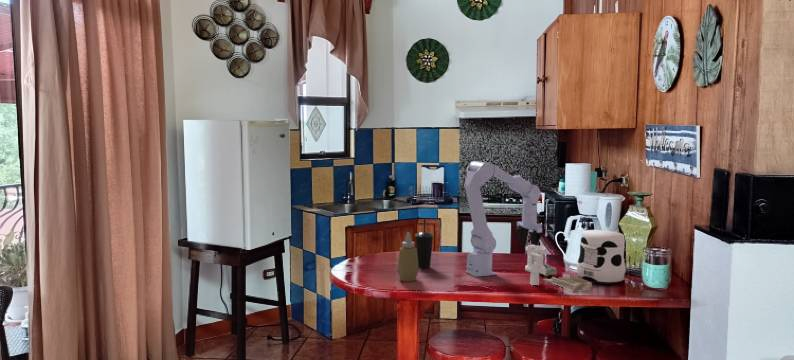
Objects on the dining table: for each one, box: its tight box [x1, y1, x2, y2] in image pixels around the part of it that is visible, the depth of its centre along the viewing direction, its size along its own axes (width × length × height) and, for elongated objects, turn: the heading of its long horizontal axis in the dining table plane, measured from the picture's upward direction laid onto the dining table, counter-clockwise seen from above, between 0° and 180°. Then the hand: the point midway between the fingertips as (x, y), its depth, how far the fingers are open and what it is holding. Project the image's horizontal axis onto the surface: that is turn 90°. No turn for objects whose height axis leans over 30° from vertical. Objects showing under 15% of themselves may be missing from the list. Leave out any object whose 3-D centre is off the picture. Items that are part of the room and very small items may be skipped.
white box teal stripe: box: [539, 263, 558, 279], centre depth 217 cm, size 5×7×4 cm
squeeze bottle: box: [397, 232, 420, 282], centre depth 209 cm, size 8×8×18 cm
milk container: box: [576, 229, 626, 285], centre depth 210 cm, size 17×17×18 cm
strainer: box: [524, 244, 547, 286], centre depth 205 cm, size 7×7×15 cm
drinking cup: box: [414, 218, 435, 270], centre depth 227 cm, size 8×8×20 cm
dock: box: [542, 274, 593, 292], centre depth 206 cm, size 9×17×3 cm, turn 22°
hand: (528, 246), depth 227 cm, fingers open, 7 cm apart
